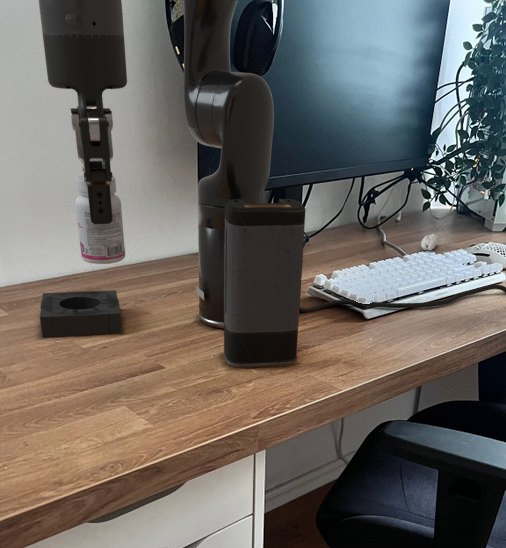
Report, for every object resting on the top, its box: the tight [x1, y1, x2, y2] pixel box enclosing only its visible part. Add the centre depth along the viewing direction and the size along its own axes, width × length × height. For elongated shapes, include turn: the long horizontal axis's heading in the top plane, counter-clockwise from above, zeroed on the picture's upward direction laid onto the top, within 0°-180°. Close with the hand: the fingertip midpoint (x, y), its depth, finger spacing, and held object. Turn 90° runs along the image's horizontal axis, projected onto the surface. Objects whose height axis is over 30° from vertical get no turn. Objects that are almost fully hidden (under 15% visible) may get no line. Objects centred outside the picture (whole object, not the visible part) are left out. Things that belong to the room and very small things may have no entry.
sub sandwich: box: [420, 233, 439, 251], centre depth 147 cm, size 3×8×3 cm, turn 157°
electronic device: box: [223, 198, 307, 369], centre depth 87 cm, size 9×6×20 cm, turn 100°
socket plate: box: [39, 289, 123, 338], centre depth 102 cm, size 11×11×3 cm
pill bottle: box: [75, 175, 126, 265], centre depth 73 cm, size 5×5×8 cm
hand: (100, 216), depth 73 cm, fingers closed on pill bottle, 4 cm apart
